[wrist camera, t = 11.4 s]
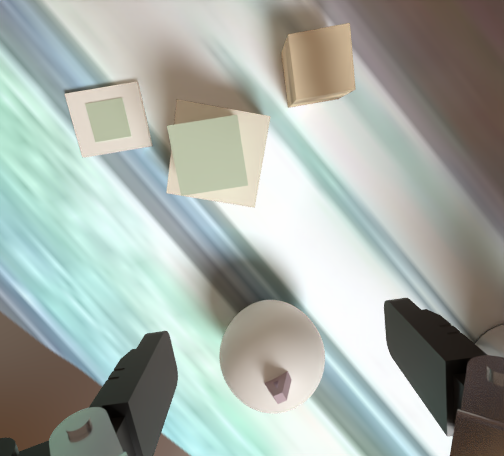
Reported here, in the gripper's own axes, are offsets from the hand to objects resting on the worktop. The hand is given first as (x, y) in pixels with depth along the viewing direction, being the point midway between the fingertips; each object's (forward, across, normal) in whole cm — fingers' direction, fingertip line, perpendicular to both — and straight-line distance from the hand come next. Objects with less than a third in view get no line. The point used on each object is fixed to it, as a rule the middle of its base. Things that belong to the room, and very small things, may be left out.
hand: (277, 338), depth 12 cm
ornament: (+23, +1, +13) cm, 27 cm away
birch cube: (+23, -7, -13) cm, 27 cm away
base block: (+23, +3, -7) cm, 24 cm away
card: (+22, +13, -12) cm, 29 cm away
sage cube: (+18, +3, -7) cm, 19 cm away
